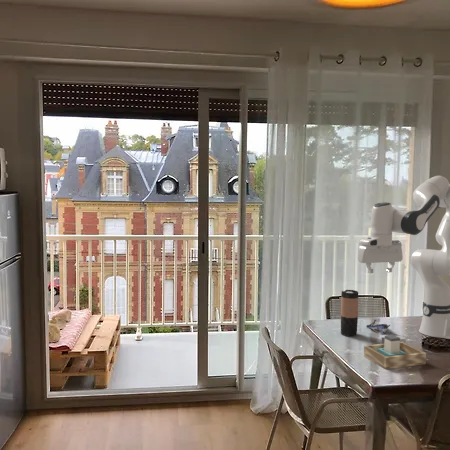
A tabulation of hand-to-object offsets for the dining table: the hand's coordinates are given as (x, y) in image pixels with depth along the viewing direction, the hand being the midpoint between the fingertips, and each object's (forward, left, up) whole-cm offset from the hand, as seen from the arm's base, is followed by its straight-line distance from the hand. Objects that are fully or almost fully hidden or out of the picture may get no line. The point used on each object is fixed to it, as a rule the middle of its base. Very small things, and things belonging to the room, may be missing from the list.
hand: (380, 272), depth 200 cm
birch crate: (+6, +19, -31) cm, 37 cm away
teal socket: (+8, +20, -31) cm, 38 cm away
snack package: (-12, -17, -32) cm, 38 cm away
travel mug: (+5, -15, -31) cm, 35 cm away
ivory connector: (+8, +20, -30) cm, 37 cm away
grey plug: (-4, +6, -31) cm, 32 cm away
